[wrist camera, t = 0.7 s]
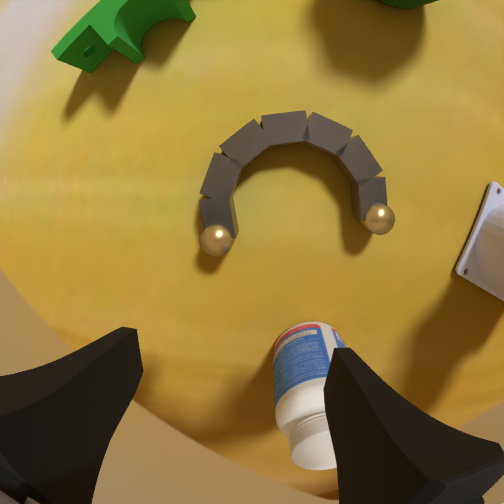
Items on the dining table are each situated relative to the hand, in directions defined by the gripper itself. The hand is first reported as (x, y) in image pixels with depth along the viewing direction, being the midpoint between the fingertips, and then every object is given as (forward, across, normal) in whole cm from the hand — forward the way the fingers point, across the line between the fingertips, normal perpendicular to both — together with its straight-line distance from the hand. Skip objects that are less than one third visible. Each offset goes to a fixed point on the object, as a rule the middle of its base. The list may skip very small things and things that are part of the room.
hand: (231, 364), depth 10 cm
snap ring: (+10, -2, -6) cm, 12 cm away
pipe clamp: (+10, +8, -17) cm, 22 cm away
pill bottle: (+10, -5, +6) cm, 13 cm away
